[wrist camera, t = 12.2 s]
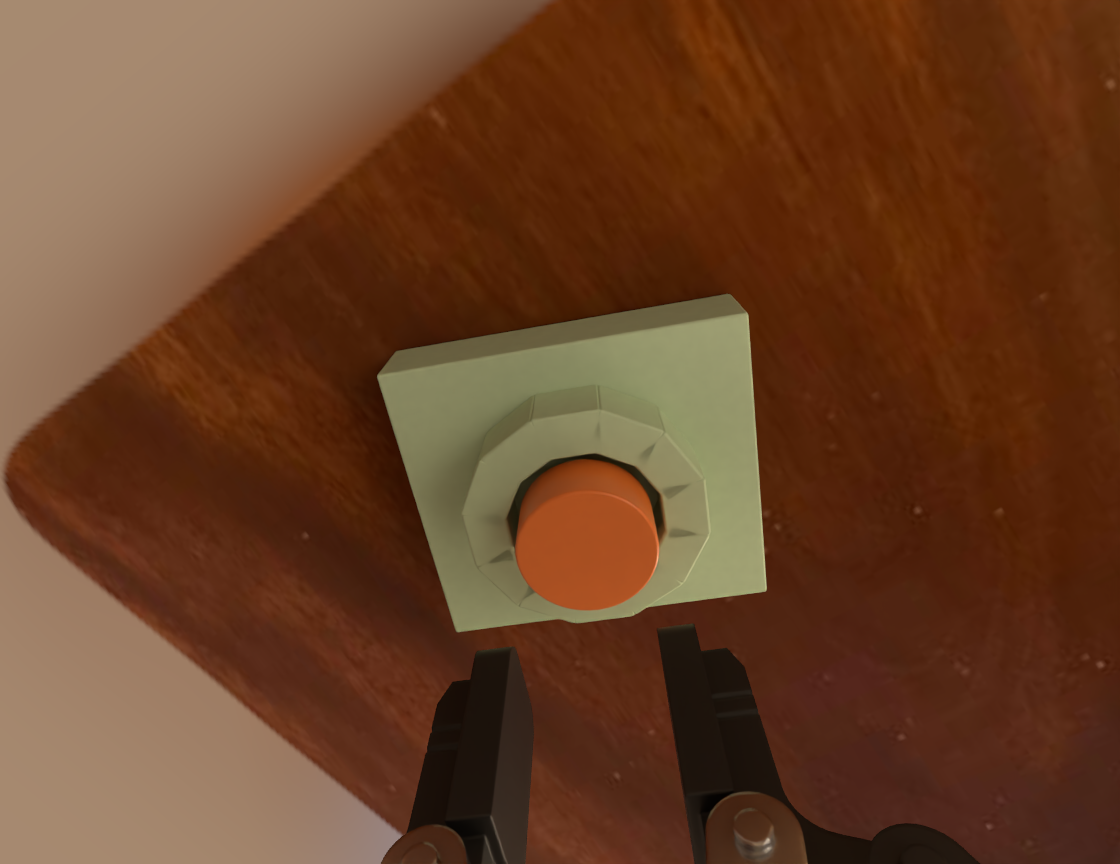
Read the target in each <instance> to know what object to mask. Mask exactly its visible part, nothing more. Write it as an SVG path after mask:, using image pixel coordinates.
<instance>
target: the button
mask: <svg viewBox="0 0 1120 864" xmlns="http://www.w3.org/2000/svg"><path fill="white" fill-rule="evenodd" d="M515 556H516V562H517V565H518V568H519V571H520V573H521V575H522V576H523V578H524V579H525V581H526V582H527V584H528V585H529V586H530V587H531V588H532V589H533V590H534V591H535V592H536V593H537V594H538V595H540V596H541V597H543V598H544V599H546V600H547V601H549V602H551V603H553V604H556V605H558V606H561V607H564V608H569V609H574V610H586V611H590V610H600V609H606V608H609V607H613V606H616V605H618V604H621V603H623V602H625V601H627V600H628V599H630V598H632V597H633V596H634V595H636V594H637V593H638V592H639V591H640V590H641V589H642V588H644V586H645V585H646V584H647V583H648V581H649V580H650V578H651V577H652V575H653V573H654V571H655V569H656V566H657V563H658V559H659V540H658V535H657V530H656V525H655V520H654V515H653V510H652V506H651V502H650V499H649V496H648V494H647V492H646V491H645V489H644V487H643V486H642V485H641V483H640V482H639V481H638V480H637V479H636V478H635V477H634V476H633V475H631V474H630V473H629V472H627V471H626V470H624V469H622V468H621V467H619V466H616V465H614V464H611V463H609V462H605V461H601V460H594V459H580V460H572V461H568V462H564V463H561V464H558V465H556V466H554V467H552V468H550V469H549V470H547V471H545V472H544V473H542V474H541V475H540V476H539V477H538V478H537V479H536V480H535V481H534V482H533V483H532V484H531V485H530V487H529V488H528V490H527V491H526V493H525V495H524V497H523V500H522V503H521V508H520V515H519V522H518V529H517V536H516V543H515Z"/></svg>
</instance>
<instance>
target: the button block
mask: <svg viewBox="0 0 1120 864" xmlns="http://www.w3.org/2000/svg"><path fill="white" fill-rule="evenodd" d="M377 379H378V382H379V385H380V389H381V392H382V395H383V398H384V401H385V405H386V408H387V411H388V414H389V417H390V421H391V424H392V427H393V430H394V434H395V437H396V440H397V443H398V446H399V450H400V453H401V456H402V459H403V462H404V466H405V469H406V472H407V475H408V479H409V482H410V485H411V488H412V491H413V495H414V498H415V501H416V504H417V507H418V511H419V514H420V517H421V520H422V524H423V527H424V530H425V533H426V536H427V540H428V543H429V546H430V549H431V552H432V556H433V559H434V562H435V565H436V569H437V572H438V575H439V578H440V581H441V585H442V588H443V591H444V594H445V597H446V601H447V604H448V607H449V610H450V614H451V617H452V620H453V623H454V626H455V630H456V631H457V632H462V631H470V630H477V629H485V628H492V627H500V626H507V625H515V624H523V623H530V622H538V621H545V620H553V619H562V620H565V621H569V622H572V623H574V622H575V623H583V622H590V621H598V620H606V619H613V618H621V617H629V616H634V614H637V613H639V612H640V611H642V610H643V609H645V608H647V607H652V606H659V605H667V604H674V603H682V602H689V601H697V600H705V599H712V598H720V597H727V596H735V595H743V594H750V593H758V592H765V591H766V589H767V587H766V572H765V557H764V542H763V527H762V513H761V498H760V483H759V468H758V453H757V438H756V424H755V409H754V394H753V379H752V364H751V349H750V334H749V320H748V313H747V312H746V311H745V310H744V309H743V308H742V307H741V305H740V304H739V303H738V302H737V301H736V300H735V299H734V298H733V297H732V296H731V294H725V295H719V296H713V297H707V298H702V299H696V300H690V301H684V302H678V303H673V304H667V305H661V306H655V307H649V308H644V309H638V310H632V311H626V312H620V313H615V314H609V315H603V316H597V317H591V318H586V319H580V320H574V321H568V322H562V323H557V324H551V325H545V326H539V327H533V328H528V329H522V330H516V331H510V332H504V333H499V334H493V335H487V336H481V337H475V338H470V339H464V340H458V341H452V342H446V343H441V344H435V345H429V346H423V347H417V348H411V349H406V350H400V351H396V352H395V353H394V354H393V356H392V357H391V358H390V360H389V361H388V362H387V363H386V365H385V366H384V367H383V369H382V370H381V371H380V372H379V374H378V375H377ZM580 459H594V460H601V461H605V462H609V463H611V464H614V465H616V466H619V467H621V468H622V469H624V470H626V471H627V472H629V473H630V474H631V475H633V476H634V477H635V478H636V479H637V480H638V481H639V482H640V483H641V485H642V486H643V487H644V489H645V491H646V492H647V494H648V496H649V499H650V502H651V506H652V510H653V515H654V520H655V525H656V530H657V535H658V540H659V559H658V563H657V566H656V569H655V571H654V573H653V575H652V577H651V578H650V580H649V581H648V583H647V584H646V585H645V586H644V588H642V589H641V590H640V591H639V592H638V593H637V594H636V595H634V596H633V597H632V598H630V599H628V600H627V601H625V602H623V603H621V604H618V605H616V606H613V607H609V608H606V609H600V610H590V611H586V610H574V609H569V608H564V607H561V606H558V605H556V604H553V603H551V602H549V601H547V600H546V599H544V598H543V597H541V596H540V595H538V594H537V593H536V592H535V591H534V590H533V589H532V588H531V587H530V586H529V585H528V584H527V582H526V581H525V579H524V578H523V576H522V575H521V573H520V571H519V568H518V565H517V562H516V556H515V543H516V536H517V529H518V522H519V515H520V508H521V503H522V500H523V497H524V495H525V493H526V491H527V490H528V488H529V487H530V485H531V484H532V483H533V482H534V481H535V480H536V479H537V478H538V477H539V476H540V475H541V474H542V473H544V472H545V471H547V470H549V469H550V468H552V467H554V466H556V465H558V464H561V463H564V462H568V461H572V460H580Z"/></svg>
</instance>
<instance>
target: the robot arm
mask: <svg viewBox="0 0 1120 864" xmlns="http://www.w3.org/2000/svg"><path fill="white" fill-rule="evenodd" d="M657 632H658V639H659V645H660V652H661V658H662V665H663V671H664V678H665V684H666V690H667V697H668V703H669V709H670V716H671V722H672V728H673V734H674V740H675V746H676V752H677V759H678V765H679V771H680V777H681V783H682V789H683V795H684V801H685V808H686V814H687V820H688V826H689V832H690V838H691V844H692V850H693V856H694V863H695V864H980V863H979V862H978V861H976V860H975V859H974V858H973V857H972V856H971V855H970V854H969V853H968V852H967V851H966V850H965V849H964V848H963V847H961V846H960V845H959V844H958V843H957V842H955V841H954V840H953V839H951V838H950V837H948V836H947V835H945V834H943V833H941V832H939V831H937V830H935V829H932V828H929V827H926V826H923V825H918V824H907V823H905V824H896V825H893V826H889V827H887V828H885V829H883V830H882V831H880V832H879V833H878V834H877V835H876V836H875V837H874V839H873V840H872V841H870V840H865V839H860V838H856V837H851V836H846V835H842V834H837V833H834V832H830V831H827V830H825V829H823V828H820V827H818V826H816V825H815V824H813V823H811V822H810V821H808V820H807V819H806V818H804V817H803V816H802V815H801V814H800V813H799V812H798V811H797V810H795V808H794V807H793V806H792V805H791V803H790V802H789V800H788V799H787V797H786V795H785V793H784V791H783V788H782V786H781V782H780V779H779V776H778V773H777V770H776V766H775V763H774V760H773V757H772V754H771V750H770V747H769V744H768V741H767V738H766V735H765V731H764V728H763V725H762V722H761V719H760V715H759V714H758V709H757V706H756V703H755V699H754V696H753V695H752V690H751V687H750V684H749V680H748V677H747V674H746V671H745V668H744V666H743V665H742V664H741V663H740V662H739V661H738V660H737V659H736V657H735V656H734V655H733V654H732V653H731V652H730V651H729V650H728V649H727V648H723V649H715V650H707V651H701V650H700V646H699V641H698V637H697V633H696V629H695V625H694V624H686V625H679V626H671V627H663V628H657ZM533 736H534V728H533V715H532V708H531V703H530V699H529V695H528V691H527V688H526V684H525V680H524V677H523V673H522V669H521V665H520V662H519V658H518V654H517V651H516V649H515V647H505V648H497V649H490V650H482V651H477V652H476V654H475V658H474V663H473V669H472V674H471V679H470V680H464V681H456V682H452V684H451V685H450V686H449V688H448V689H447V691H446V692H445V694H444V695H443V697H442V698H441V700H440V701H439V702H438V704H437V708H436V712H435V716H434V721H433V725H432V733H430V738H429V742H428V746H427V753H426V755H425V759H424V763H423V767H422V772H421V776H420V780H419V784H418V789H417V793H416V797H415V802H414V806H413V810H412V814H411V819H410V823H409V827H408V830H407V833H406V834H405V835H403V836H402V837H401V838H400V839H399V840H397V841H396V842H395V843H394V845H392V847H391V848H390V849H389V850H388V852H387V853H386V855H385V857H384V858H383V860H382V862H381V864H525V859H526V844H527V829H528V813H529V798H530V783H531V768H532V752H533Z"/></svg>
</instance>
